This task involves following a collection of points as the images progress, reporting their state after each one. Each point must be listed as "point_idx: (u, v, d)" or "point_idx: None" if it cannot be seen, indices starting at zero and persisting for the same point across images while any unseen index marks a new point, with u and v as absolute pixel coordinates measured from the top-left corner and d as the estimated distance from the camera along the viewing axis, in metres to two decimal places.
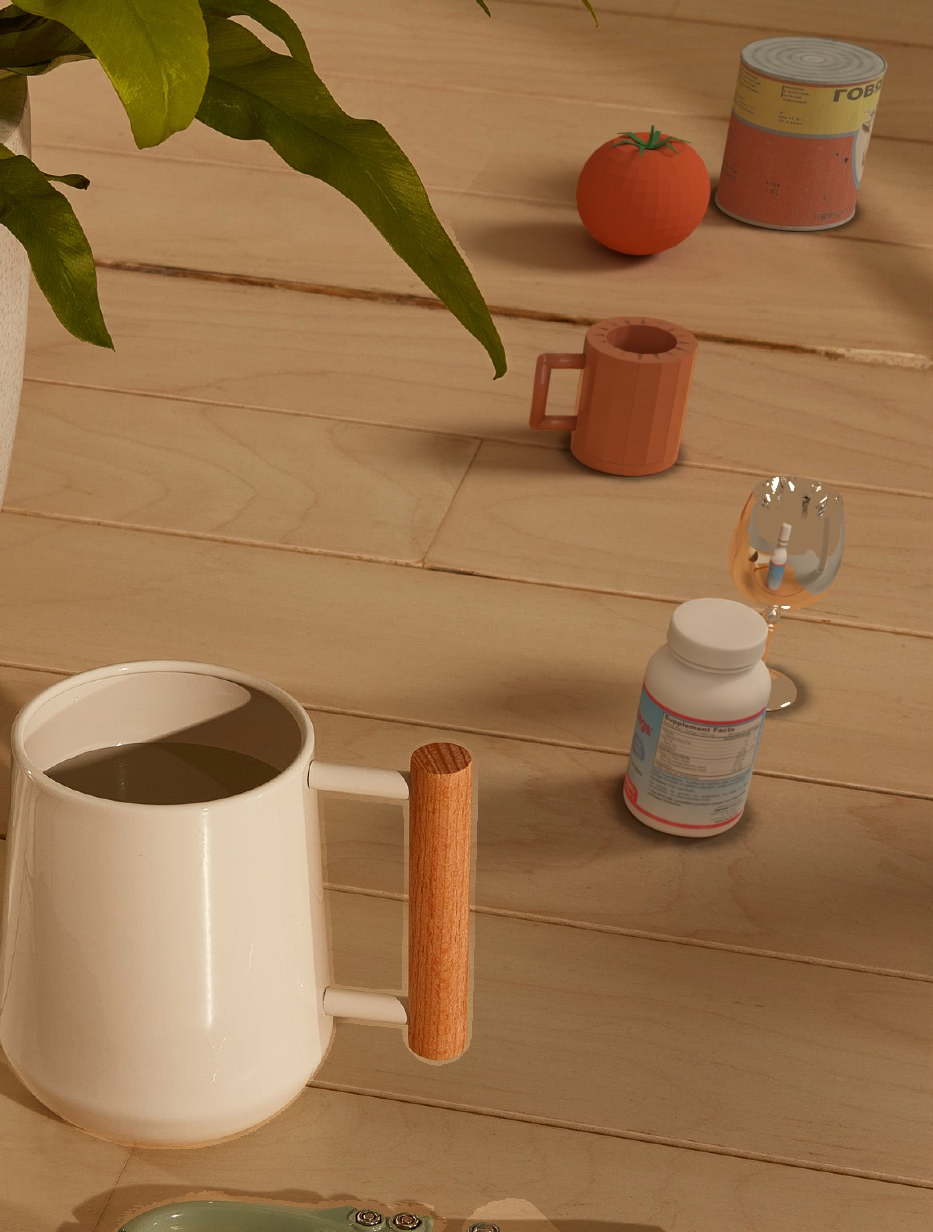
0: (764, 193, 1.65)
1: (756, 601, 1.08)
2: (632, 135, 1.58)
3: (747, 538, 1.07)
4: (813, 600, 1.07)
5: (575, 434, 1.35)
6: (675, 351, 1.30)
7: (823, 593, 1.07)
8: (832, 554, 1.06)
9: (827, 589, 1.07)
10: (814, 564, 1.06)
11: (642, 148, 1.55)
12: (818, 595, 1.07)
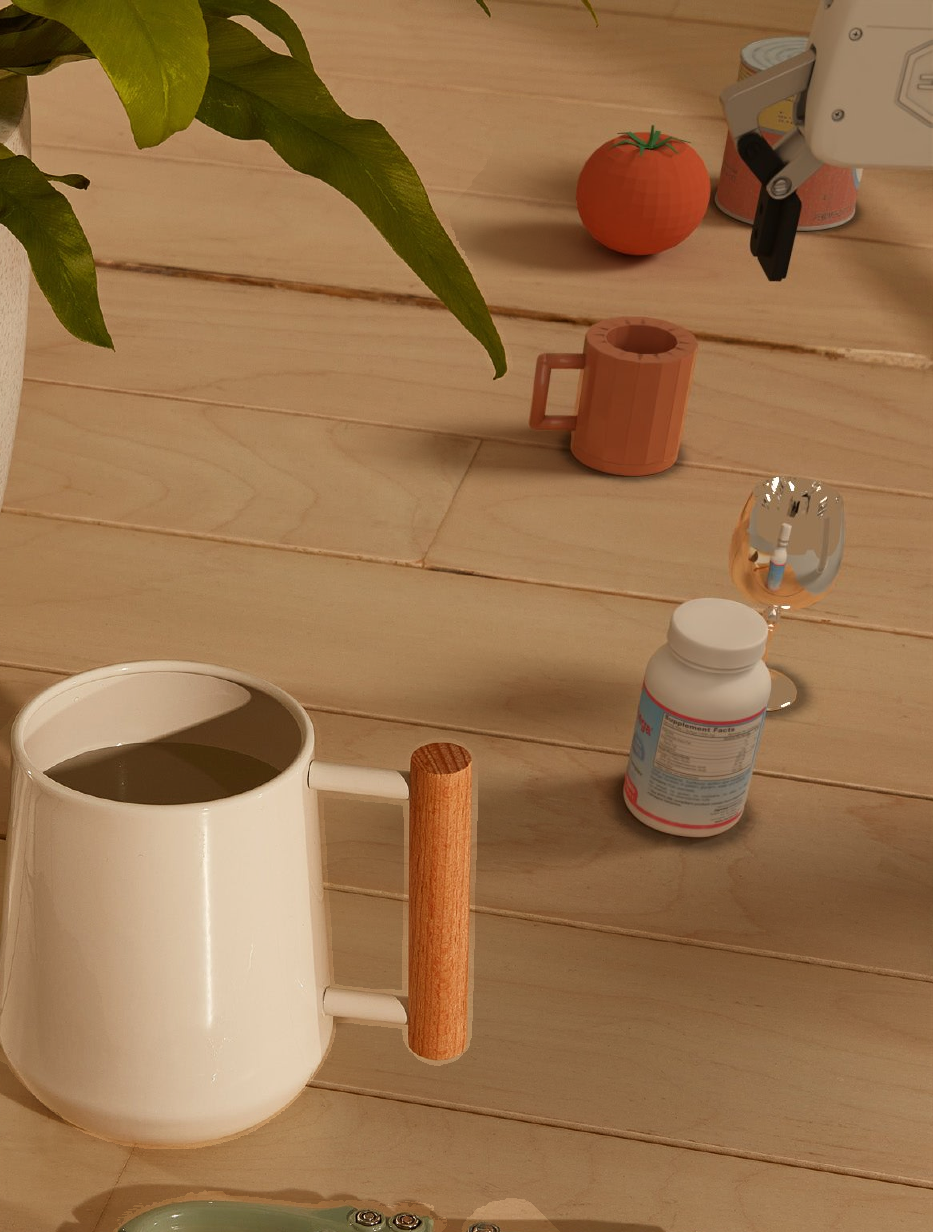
0: None
1: (756, 601, 1.08)
2: (632, 135, 1.58)
3: (747, 538, 1.07)
4: (813, 600, 1.07)
5: (575, 434, 1.35)
6: (675, 351, 1.30)
7: (823, 593, 1.07)
8: (832, 554, 1.06)
9: (827, 589, 1.07)
10: (814, 564, 1.06)
11: (642, 148, 1.55)
12: (818, 595, 1.07)
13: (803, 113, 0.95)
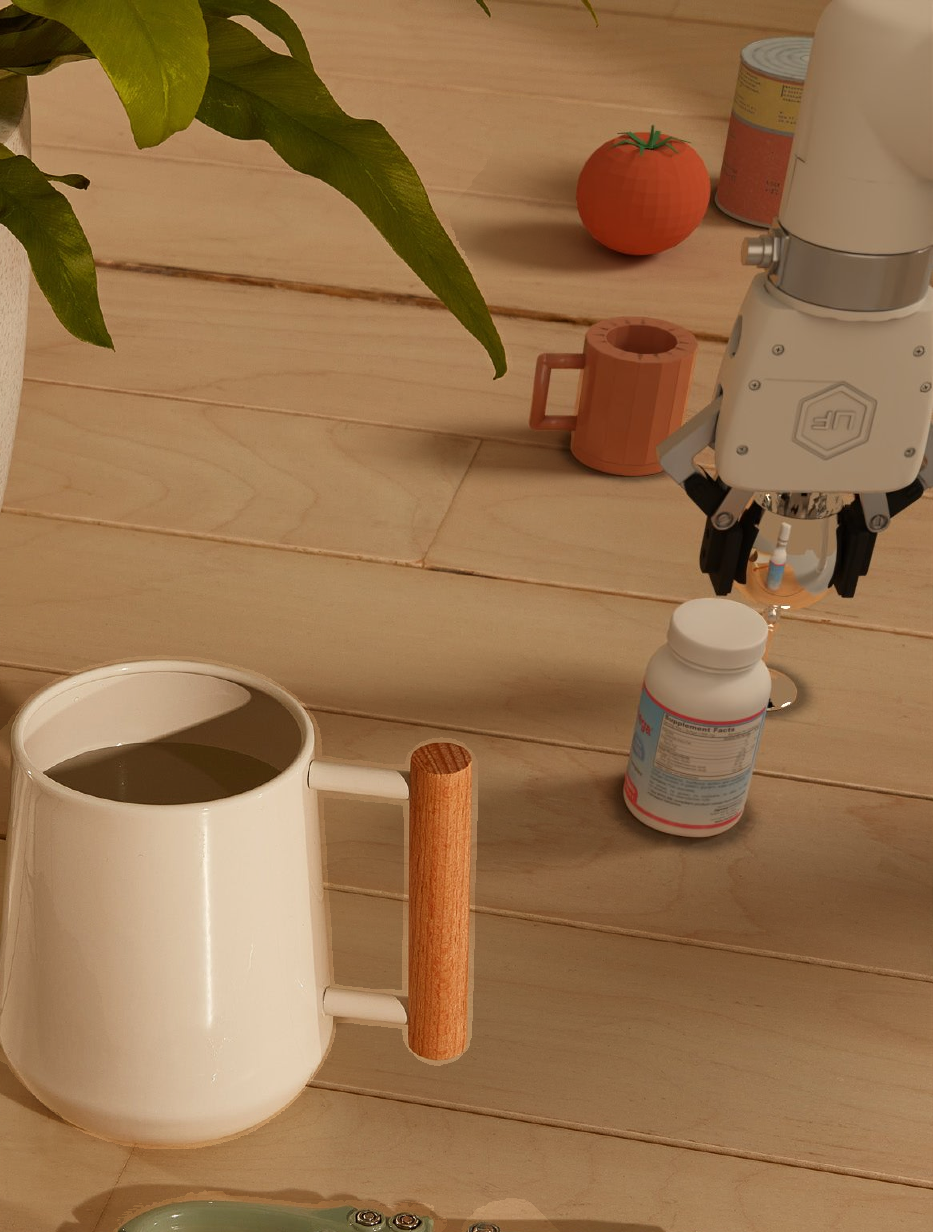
0: (764, 193, 1.65)
1: (756, 601, 1.08)
2: (632, 135, 1.58)
3: (746, 538, 1.07)
4: (813, 600, 1.07)
5: (575, 434, 1.35)
6: (675, 351, 1.30)
7: (823, 593, 1.07)
8: (831, 554, 1.06)
9: (827, 589, 1.07)
10: (813, 564, 1.06)
11: (642, 148, 1.55)
12: (818, 595, 1.07)
13: None
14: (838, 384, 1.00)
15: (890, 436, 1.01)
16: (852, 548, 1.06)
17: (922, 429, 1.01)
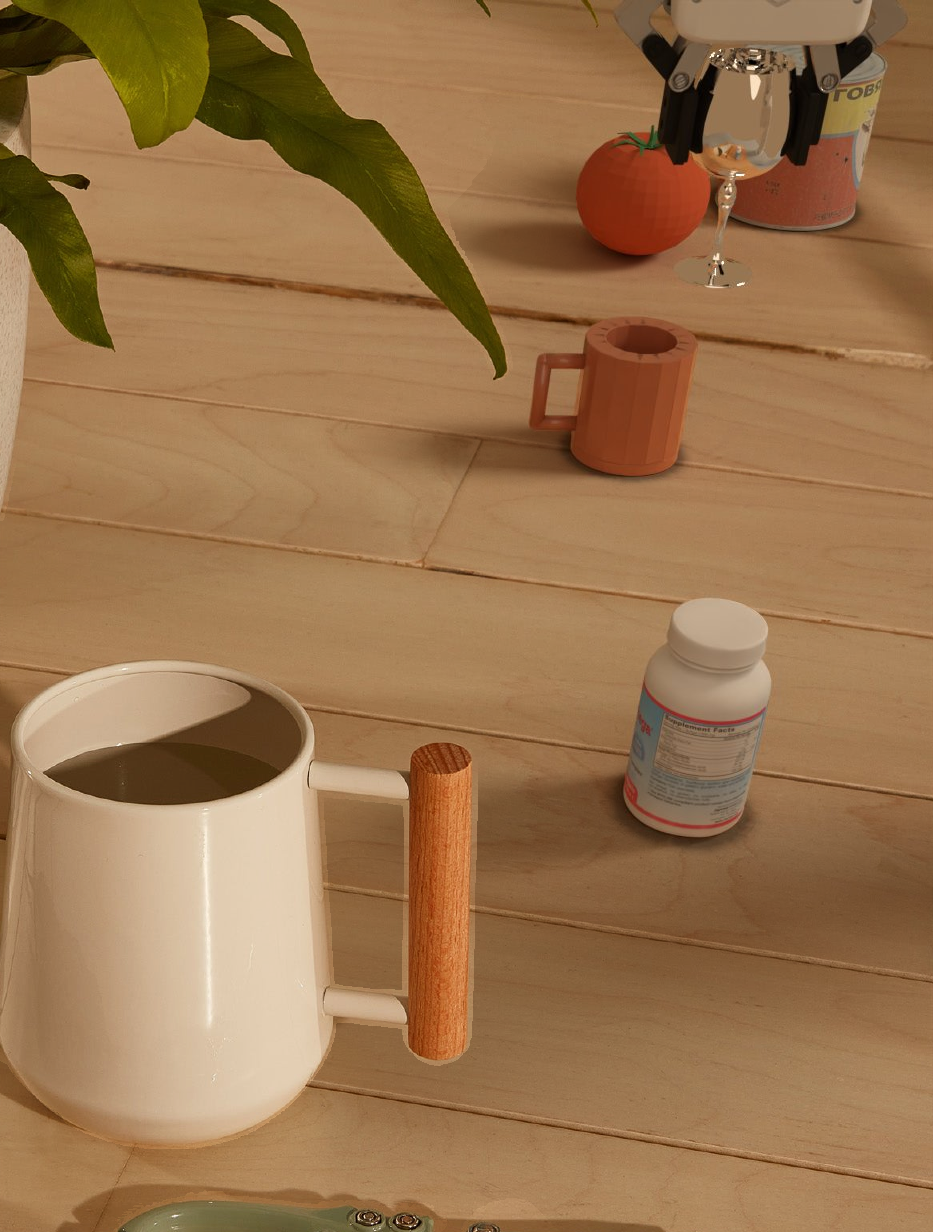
0: (764, 193, 1.65)
1: (712, 168, 1.12)
2: (632, 135, 1.58)
3: (703, 102, 1.10)
4: (767, 164, 1.11)
5: (575, 434, 1.35)
6: (675, 351, 1.30)
7: (776, 157, 1.11)
8: (784, 113, 1.09)
9: (780, 153, 1.11)
10: (767, 122, 1.09)
11: (642, 148, 1.55)
12: (771, 159, 1.11)
13: None
14: None
15: None
16: (804, 110, 1.10)
17: None
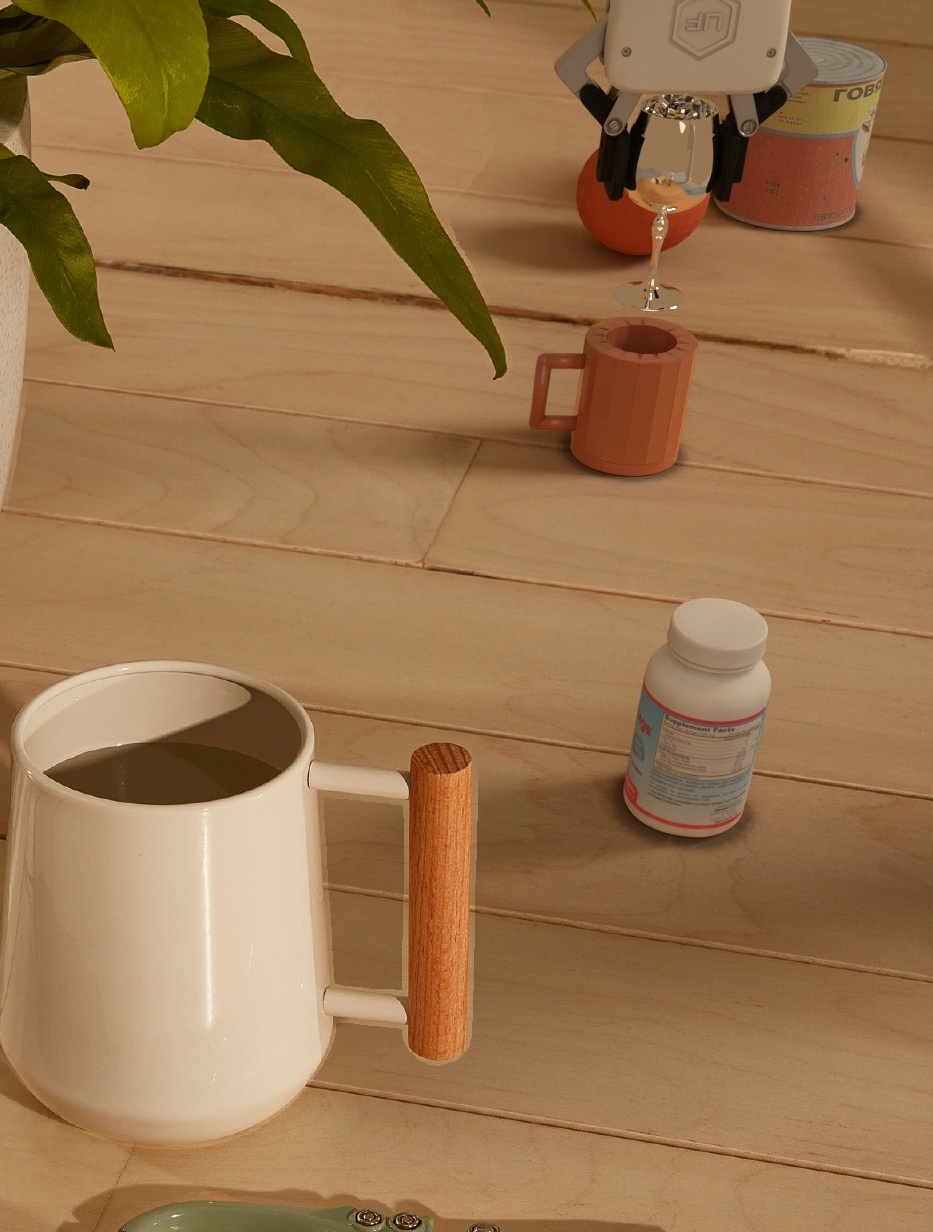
0: (764, 193, 1.65)
1: (644, 204, 1.24)
2: None
3: (635, 144, 1.22)
4: (693, 200, 1.23)
5: (575, 434, 1.35)
6: (675, 351, 1.30)
7: (702, 194, 1.23)
8: (708, 155, 1.21)
9: (705, 190, 1.23)
10: (692, 162, 1.21)
11: None
12: (697, 195, 1.23)
13: None
14: None
15: (753, 37, 1.17)
16: (726, 152, 1.22)
17: (781, 30, 1.17)
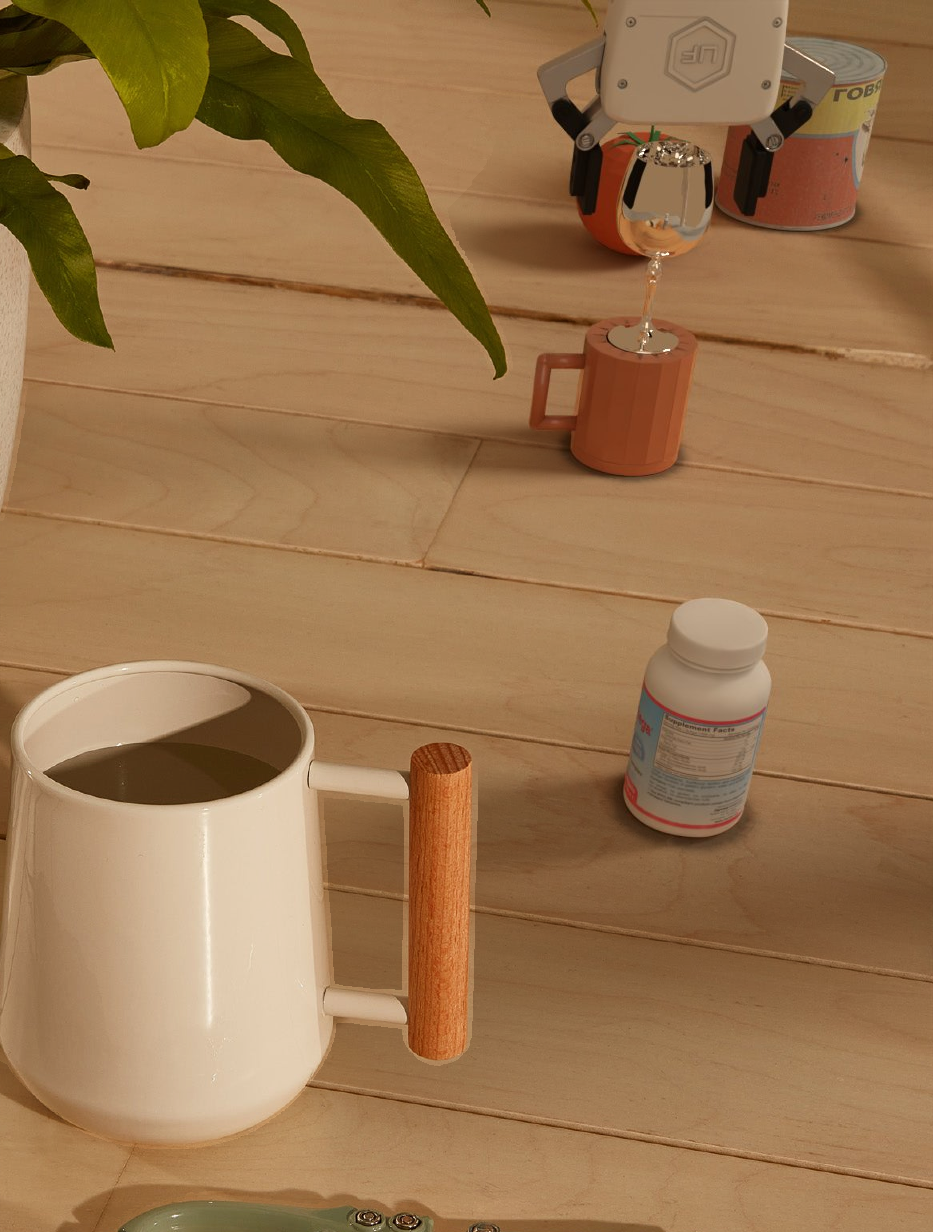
0: None
1: (639, 249, 1.25)
2: (632, 135, 1.58)
3: (629, 190, 1.24)
4: (687, 245, 1.25)
5: (575, 434, 1.35)
6: (675, 351, 1.30)
7: (695, 239, 1.25)
8: (701, 201, 1.23)
9: (699, 236, 1.25)
10: (685, 209, 1.23)
11: None
12: (691, 241, 1.25)
13: None
14: (702, 20, 1.16)
15: (748, 69, 1.18)
16: (752, 167, 1.22)
17: (776, 62, 1.18)
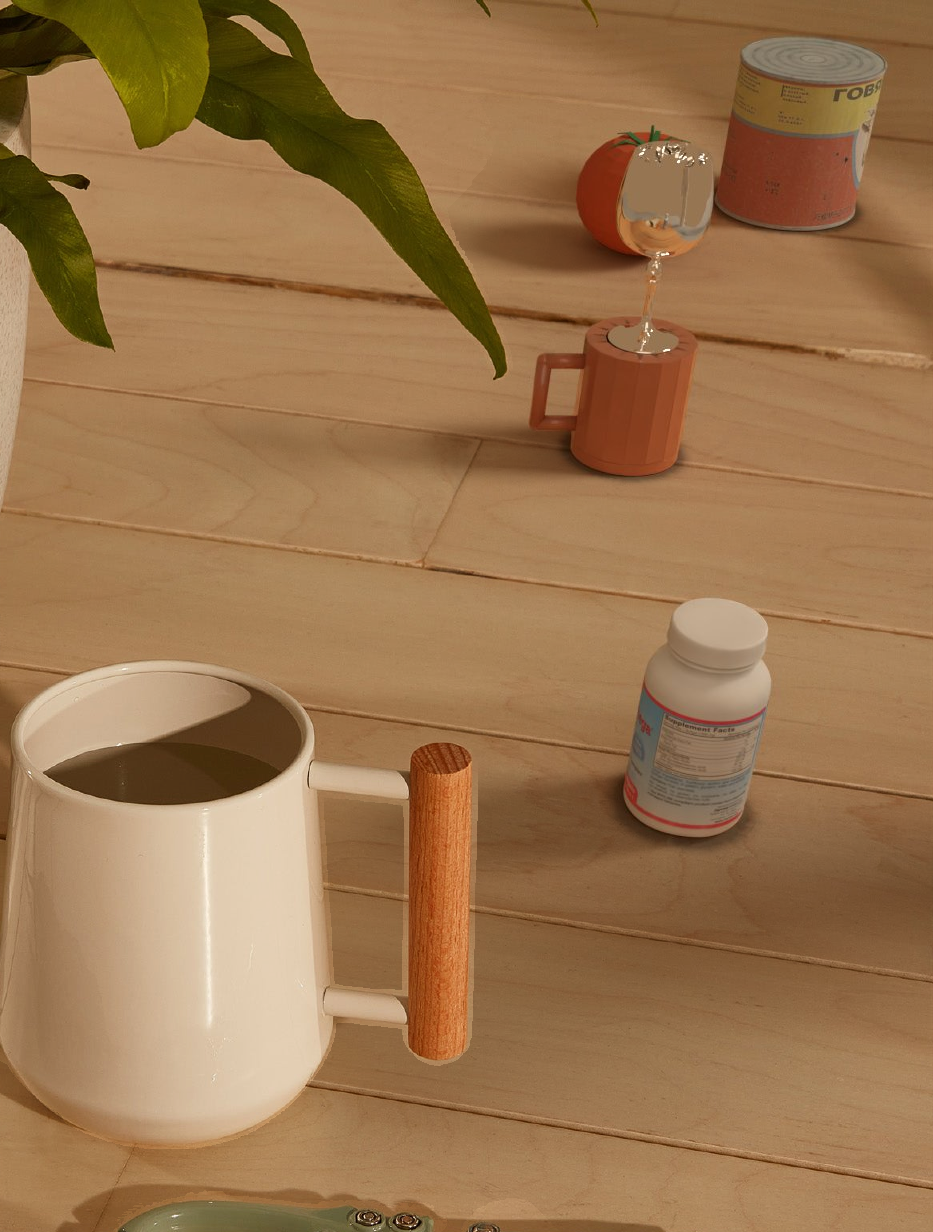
0: (764, 193, 1.65)
1: (638, 249, 1.25)
2: (632, 135, 1.58)
3: (629, 190, 1.24)
4: (687, 245, 1.25)
5: (575, 434, 1.35)
6: (675, 351, 1.30)
7: (695, 239, 1.25)
8: (701, 201, 1.23)
9: (699, 236, 1.25)
10: (685, 209, 1.23)
11: None
12: (691, 240, 1.25)
13: None
14: None
15: None
16: None
17: None
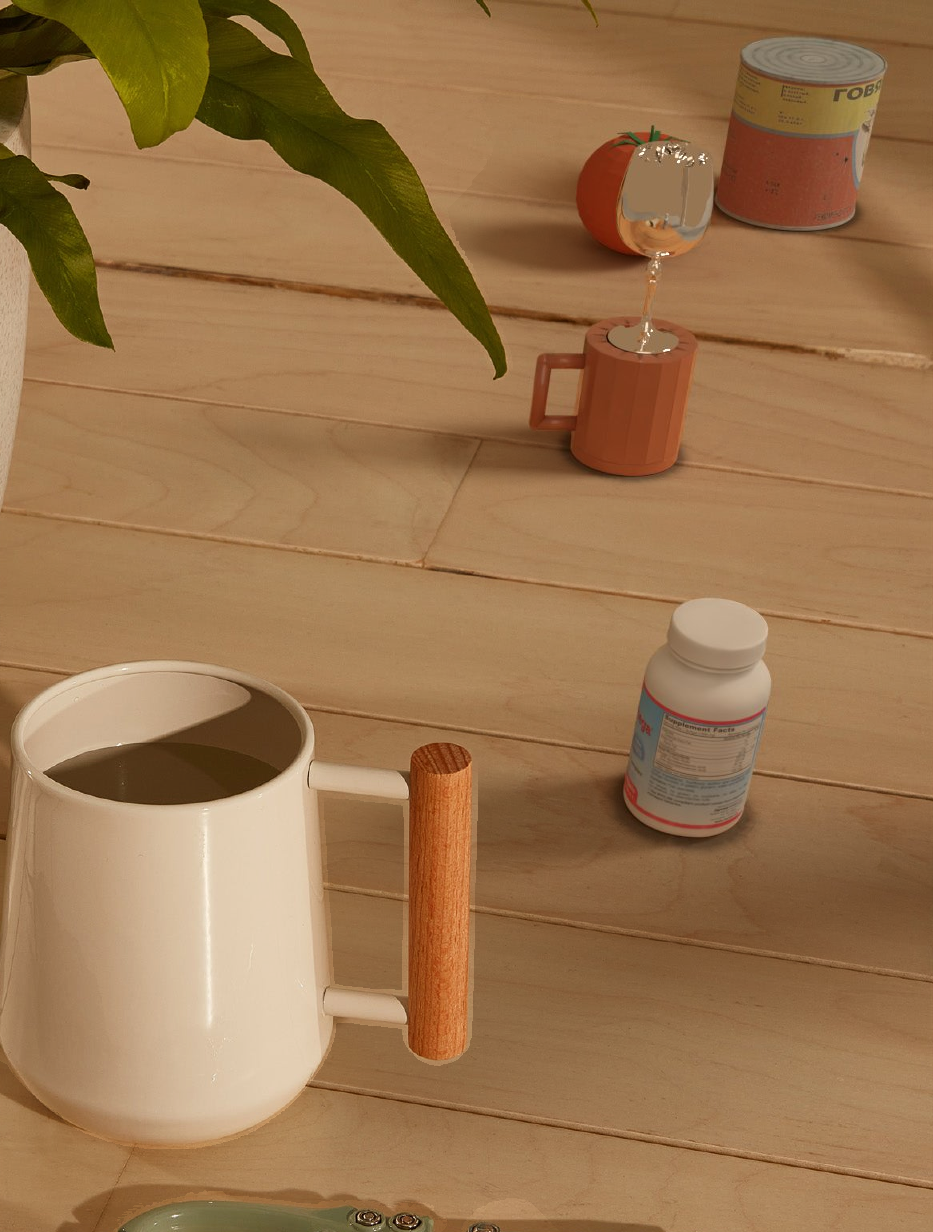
0: (764, 193, 1.65)
1: (638, 249, 1.25)
2: (632, 135, 1.58)
3: (629, 190, 1.24)
4: (687, 245, 1.25)
5: (575, 434, 1.35)
6: (675, 351, 1.30)
7: (695, 239, 1.25)
8: (701, 201, 1.23)
9: (699, 236, 1.25)
10: (685, 209, 1.23)
11: None
12: (691, 240, 1.25)
13: None
14: None
15: None
16: None
17: None
